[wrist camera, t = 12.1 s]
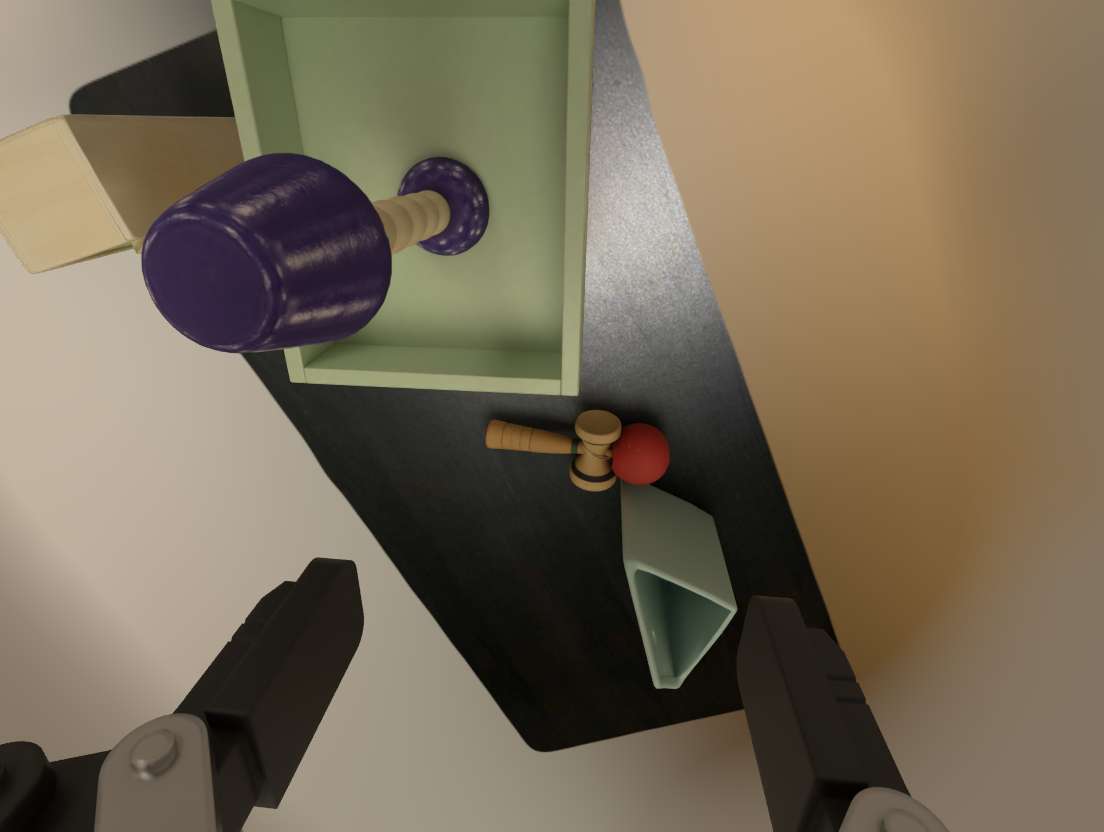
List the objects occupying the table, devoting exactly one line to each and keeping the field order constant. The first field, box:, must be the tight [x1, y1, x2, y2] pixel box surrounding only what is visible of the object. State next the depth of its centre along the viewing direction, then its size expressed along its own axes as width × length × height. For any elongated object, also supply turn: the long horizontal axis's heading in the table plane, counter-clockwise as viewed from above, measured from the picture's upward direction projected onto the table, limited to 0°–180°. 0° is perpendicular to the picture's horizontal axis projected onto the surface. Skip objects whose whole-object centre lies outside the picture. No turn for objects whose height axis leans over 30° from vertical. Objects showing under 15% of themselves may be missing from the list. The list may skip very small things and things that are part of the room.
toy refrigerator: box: [0, 115, 245, 274], centre depth 41 cm, size 8×7×21 cm
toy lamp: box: [142, 153, 489, 353], centre depth 19 cm, size 5×5×17 cm
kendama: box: [486, 410, 670, 491], centre depth 57 cm, size 8×6×18 cm
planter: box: [621, 479, 737, 689], centre depth 54 cm, size 16×8×20 cm, turn 20°
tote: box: [211, 0, 596, 396], centre depth 25 cm, size 16×14×4 cm
